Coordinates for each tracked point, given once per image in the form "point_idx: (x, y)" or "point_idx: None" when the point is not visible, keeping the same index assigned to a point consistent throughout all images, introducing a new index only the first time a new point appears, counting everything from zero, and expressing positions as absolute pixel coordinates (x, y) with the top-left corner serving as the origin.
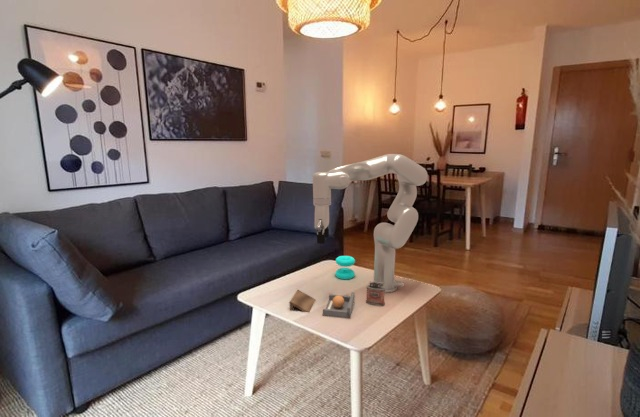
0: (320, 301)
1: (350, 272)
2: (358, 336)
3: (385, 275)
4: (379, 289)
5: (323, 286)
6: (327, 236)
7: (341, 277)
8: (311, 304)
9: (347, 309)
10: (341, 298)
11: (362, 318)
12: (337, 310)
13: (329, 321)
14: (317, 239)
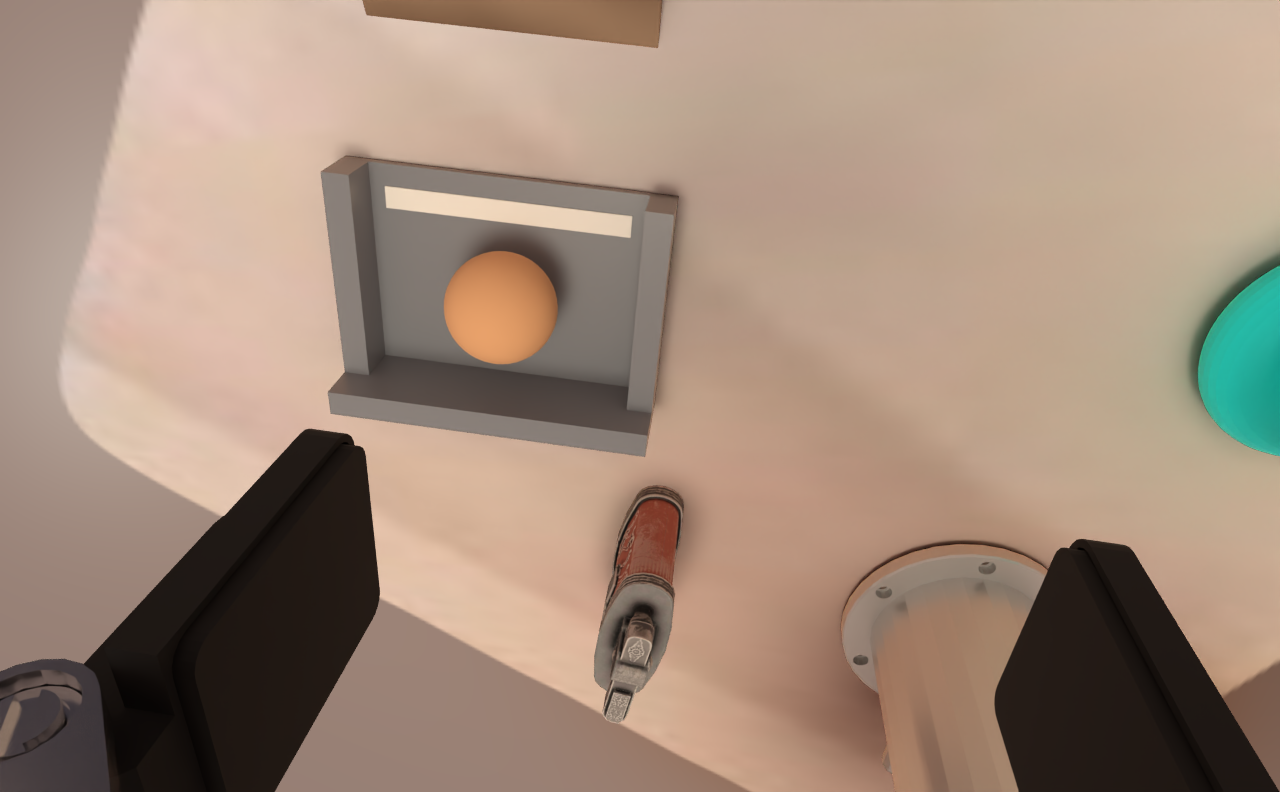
0: (623, 106)
1: (1268, 430)
2: (162, 410)
3: (888, 740)
4: (594, 658)
5: (1029, 103)
6: (999, 694)
7: (1225, 314)
8: (522, 16)
9: (333, 387)
10: (472, 353)
11: (398, 446)
12: (351, 299)
13: (273, 218)
14: (248, 507)
